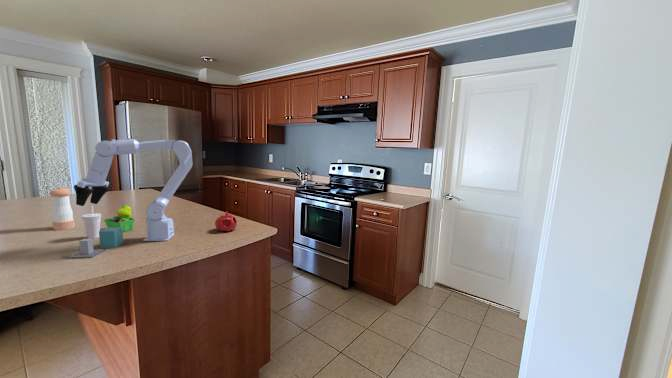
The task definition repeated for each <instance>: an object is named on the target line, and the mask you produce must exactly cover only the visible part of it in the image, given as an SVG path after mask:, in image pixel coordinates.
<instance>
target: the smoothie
mask: <svg viewBox="0 0 672 378" xmlns="http://www.w3.org/2000/svg"><path fill="white" fill-rule="evenodd" d="M90 209H91V210H90V211H91V213H87V214H83V215H81V219H82V222H83V225H84V229H85V232H86V236H87V239H91V238H93V239H97V238H98V239H99V231H101V222H102V221H101V219H102V214H101V213H98V212H96V213H94V204H91V205H90Z"/></svg>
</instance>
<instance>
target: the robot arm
mask: <svg viewBox="0 0 672 378" xmlns="http://www.w3.org/2000/svg"><path fill="white" fill-rule="evenodd" d="M110 140H111V141H110ZM110 140H101V141H99V142H98V143H96V145H95V147H94V148H95V149H94V150H95V153H94V156H93V157H92V160H91V163H90V166H89V169H88V171H87V174H86V176H85V177H83V178H81V180H78V182H77V184H74V185H73V189H74V191H75V203H76V205H77V206H80V207H84V206H85V204H86V203H87V201H88V199H89V197H90V195H91V197H90V203H91V204H93V205H97V204H99V203H100V201H101V199H102V198H103V196H105V194H106V193H107V192H109V191H110V187H109V184H110V182H109V181H107V177H108V174H109V171H110V170H111V169H110V168H111V166H112V163H113V158H114V155H118V156H121V155H122V156H123V155H134V154H138V153H139V152H140V151H142V150H153V149H154V150H156V149H164V150H167V151H173V153H174V154H175V156H176V157H177V160H178V162H179V164H178V166H177V168H176V170H174V172H173V173H172V175H171V177H170V178H169V179H168V181H167V182H166V184H165V185H164V187H163V188H162V190H161V191H160V192H159V194H158V195H157V197H156V198H155V200H153V201H151V202H150V203H149V204H148V205H147V208H146V209H145V215H146V217H145V221H146V222H145V223H146V237H145V238H144V239H143V240H142V241H143V242H157V241H158V242H161V241H162V242H163V241H165V242H166V241H169V240H170V239H171V238H173V237H174V236H175V229H174V228H175V227H174V219H172V218H171V217H167V215H165V209H166V207H167V206H168V204H169V202H170V200H171V198H172V197H173V196H174V194H175V193H176V191H177V190H178V188H179V187H180V186H181V184H182V182H183V181H184V180H185V178H186V176H187V174H188V173H189V172H190V171H191V169H192V167H193V165H194V164H193V155H192V153H193V151H192V148H191V147H190V145H189V144H188V142H186V141H184V140H182V139H181V140H176V139H175V140H173V139H161V140H160V139H159V140H158V139H157V140H149V141H148V140H147V141H138V140H137V139H134V138H131V137H126V139H117V140H116V139H115V138H113V139H112V138H111V139H110ZM90 187H91V188H90Z"/></svg>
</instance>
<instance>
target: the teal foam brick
mask: <svg viewBox="0 0 672 378" xmlns="http://www.w3.org/2000/svg"><path fill="white" fill-rule="evenodd" d="M123 233H124V232H122V227H110V228H108V227H106V228H103V229H100V231H99V237H98V239H99V246H100V247H99V249H110V248H111V249H115V248H117V247H119V246H121V245H122V244H124V235H123Z"/></svg>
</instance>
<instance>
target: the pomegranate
mask: <svg viewBox="0 0 672 378" xmlns="http://www.w3.org/2000/svg"><path fill="white" fill-rule="evenodd" d="M237 226H238V221H237V219H236V217H235V216H234V215H232V214H231V213H229V212H228V210H227V211H225V214H222V213H221V214H218V217H217V218H216V220H215V222H214V227H215V229H216V230H217V231H220V232H222V231H228V232H232V231H234V230H235V229H236V228H237ZM231 230H232V231H231Z"/></svg>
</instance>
